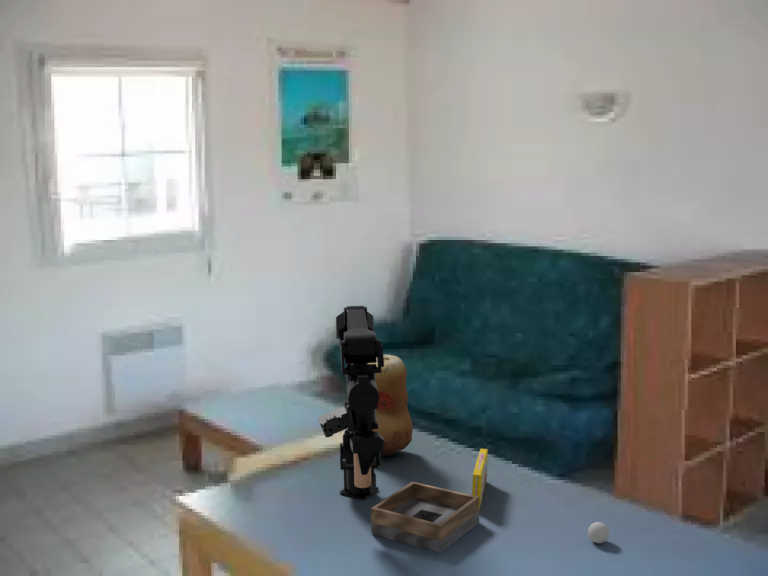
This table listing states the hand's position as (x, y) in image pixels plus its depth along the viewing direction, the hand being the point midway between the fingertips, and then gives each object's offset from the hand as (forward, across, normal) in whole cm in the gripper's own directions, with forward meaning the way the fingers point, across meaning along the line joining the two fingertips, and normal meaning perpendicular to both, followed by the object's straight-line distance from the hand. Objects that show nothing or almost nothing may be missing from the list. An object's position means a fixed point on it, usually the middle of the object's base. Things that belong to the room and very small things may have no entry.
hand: (362, 471), depth 183 cm
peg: (+3, 0, 0) cm, 3 cm away
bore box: (+13, +2, +12) cm, 18 cm away
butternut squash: (+13, -42, +12) cm, 45 cm away
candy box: (+13, -12, +28) cm, 33 cm away
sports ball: (+13, +15, +44) cm, 48 cm away
